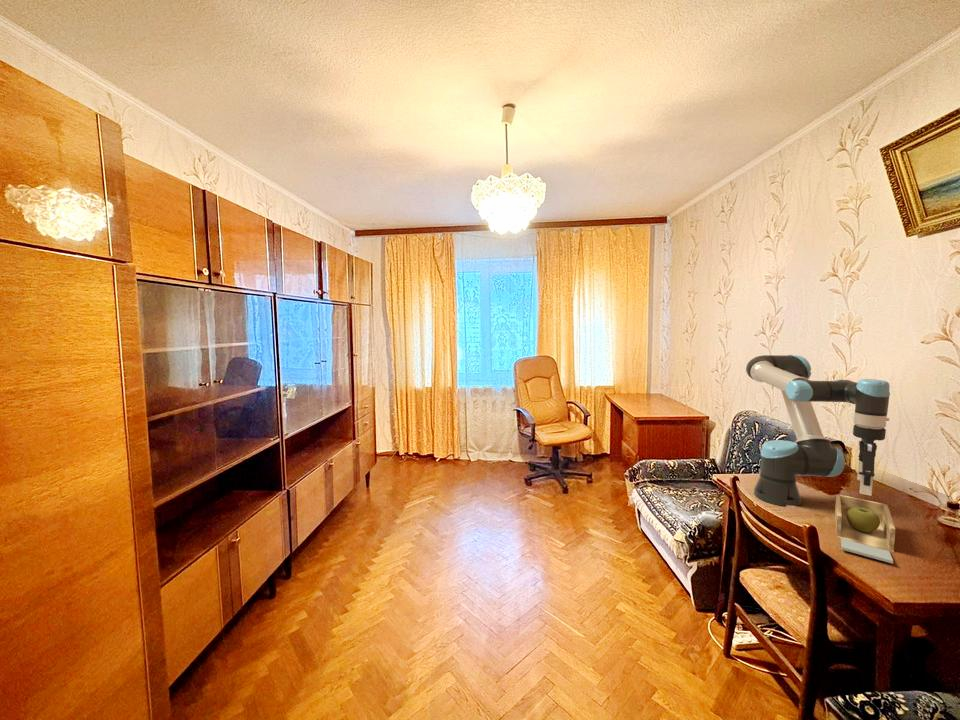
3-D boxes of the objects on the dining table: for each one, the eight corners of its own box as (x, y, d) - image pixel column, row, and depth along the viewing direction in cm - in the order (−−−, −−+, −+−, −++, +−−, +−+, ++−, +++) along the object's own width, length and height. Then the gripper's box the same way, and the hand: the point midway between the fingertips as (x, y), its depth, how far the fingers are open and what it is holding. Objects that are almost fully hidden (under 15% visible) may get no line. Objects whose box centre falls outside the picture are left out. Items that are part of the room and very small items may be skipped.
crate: (835, 539, 125) (837, 516, 125) (834, 514, 142) (836, 493, 141) (893, 554, 117) (895, 530, 116) (885, 526, 133) (887, 504, 132)
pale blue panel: (840, 541, 124) (841, 550, 117) (840, 538, 124) (841, 546, 117) (888, 554, 117) (892, 565, 110) (889, 551, 117) (893, 561, 110)
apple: (880, 539, 124) (881, 518, 123) (846, 530, 129) (847, 510, 128) (877, 529, 129) (879, 509, 129) (845, 521, 135) (846, 502, 134)
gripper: (890, 437, 114) (884, 504, 117) (881, 420, 133) (876, 478, 135) (855, 432, 119) (850, 497, 122) (851, 416, 138) (847, 472, 140)
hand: (863, 487), depth 128 cm, fingers open, 13 cm apart
